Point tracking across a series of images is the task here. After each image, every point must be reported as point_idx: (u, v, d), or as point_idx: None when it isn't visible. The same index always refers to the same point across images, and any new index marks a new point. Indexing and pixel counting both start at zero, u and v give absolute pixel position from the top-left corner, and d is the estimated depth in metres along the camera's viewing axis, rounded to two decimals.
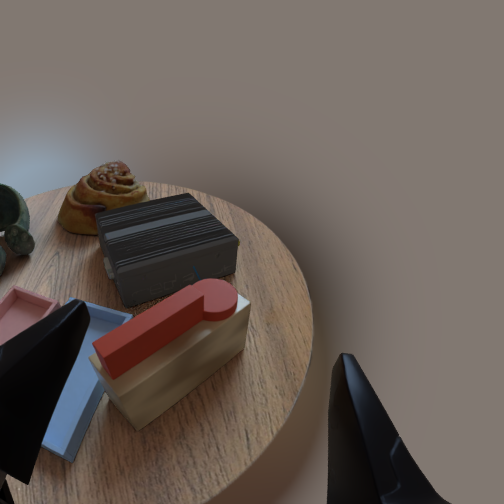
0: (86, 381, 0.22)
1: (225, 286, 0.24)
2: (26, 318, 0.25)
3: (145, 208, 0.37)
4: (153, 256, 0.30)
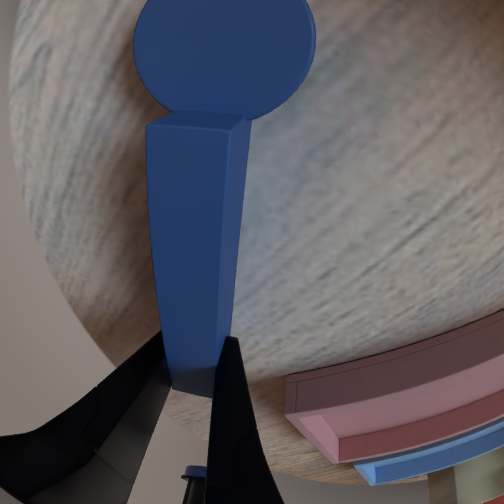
0: (461, 440, 0.15)
1: None
2: None
3: None
4: None
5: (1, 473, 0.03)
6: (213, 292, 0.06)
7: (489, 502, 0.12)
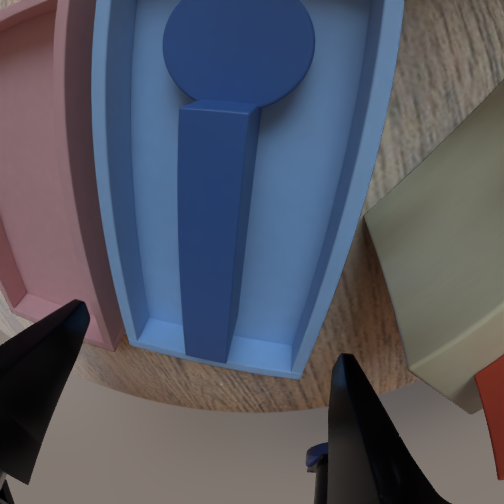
0: (294, 189, 0.09)
1: None
2: (21, 71, 0.07)
3: None
4: None
5: None
6: (230, 251, 0.08)
7: None
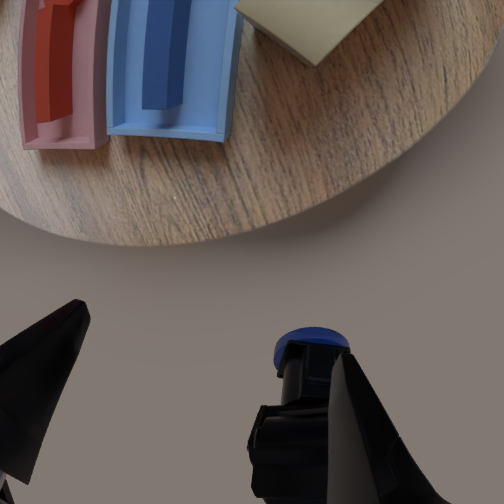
0: (211, 14, 0.13)
1: None
2: None
3: None
4: None
5: None
6: (170, 23, 0.12)
7: None
